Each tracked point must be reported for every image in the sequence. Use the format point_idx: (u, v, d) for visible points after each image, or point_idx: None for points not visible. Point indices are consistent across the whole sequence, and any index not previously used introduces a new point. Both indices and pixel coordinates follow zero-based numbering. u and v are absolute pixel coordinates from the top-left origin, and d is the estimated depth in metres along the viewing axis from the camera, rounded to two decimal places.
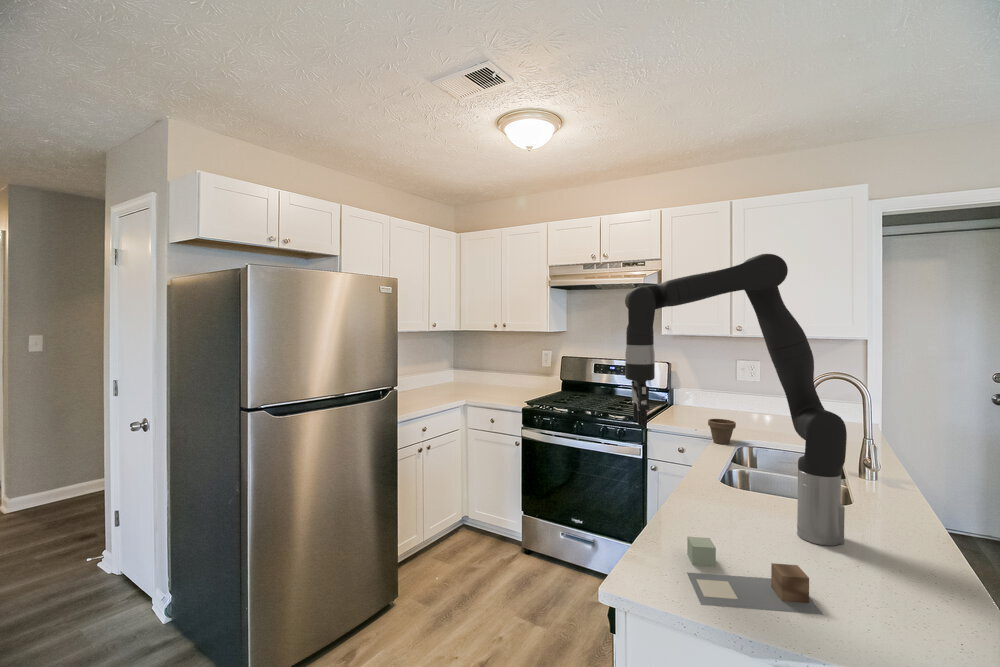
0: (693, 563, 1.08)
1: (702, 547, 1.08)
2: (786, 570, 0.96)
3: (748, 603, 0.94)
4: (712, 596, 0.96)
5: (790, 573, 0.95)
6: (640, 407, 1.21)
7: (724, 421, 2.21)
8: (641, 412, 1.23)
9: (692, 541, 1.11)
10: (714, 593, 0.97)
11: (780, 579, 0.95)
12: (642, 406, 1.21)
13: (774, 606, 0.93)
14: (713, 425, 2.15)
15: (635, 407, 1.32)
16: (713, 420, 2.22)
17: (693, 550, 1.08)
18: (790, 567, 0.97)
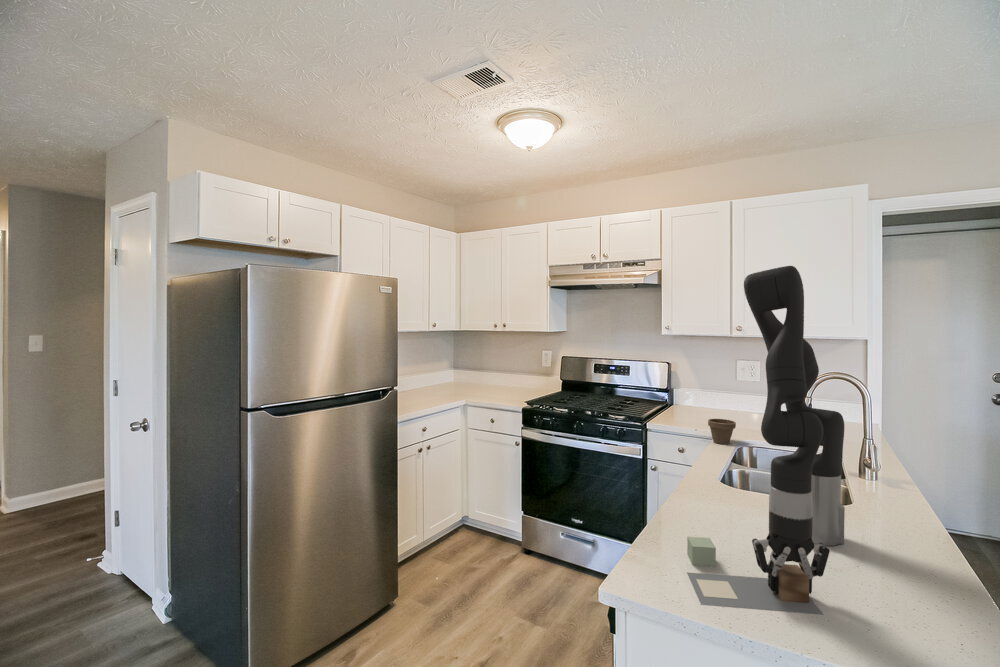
0: (693, 563, 1.08)
1: (702, 547, 1.08)
2: (786, 570, 0.96)
3: (748, 603, 0.94)
4: (712, 596, 0.96)
5: (790, 573, 0.95)
6: None
7: (724, 421, 2.21)
8: None
9: (692, 541, 1.11)
10: (714, 593, 0.97)
11: (780, 579, 0.95)
12: None
13: (774, 606, 0.93)
14: (713, 425, 2.15)
15: None
16: (713, 420, 2.22)
17: (693, 550, 1.08)
18: (790, 567, 0.97)
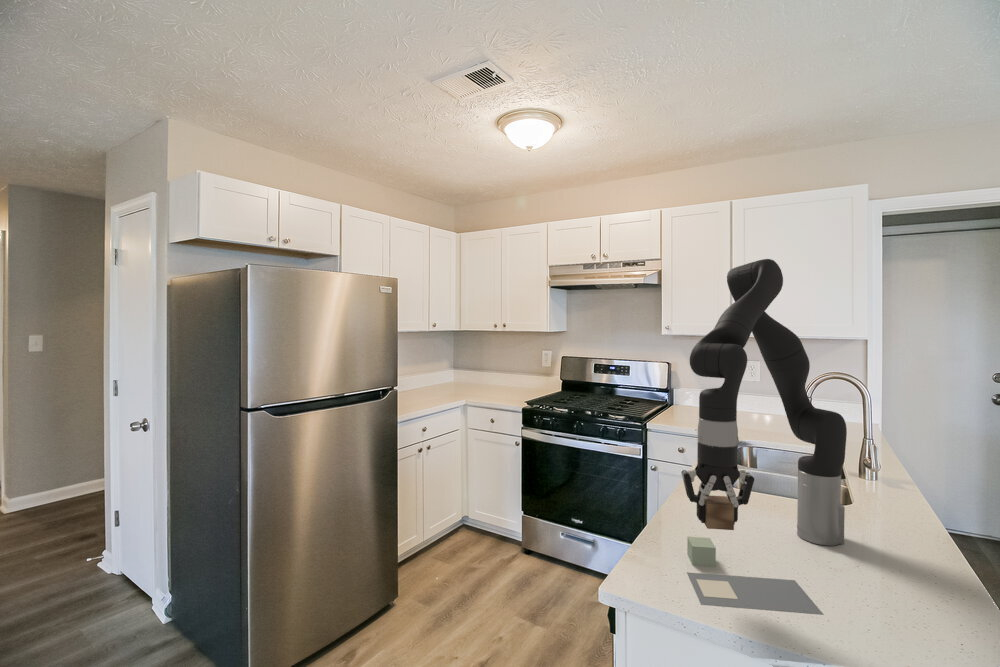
0: (693, 563, 1.08)
1: (702, 547, 1.08)
2: (714, 500, 0.98)
3: (748, 603, 0.94)
4: (712, 596, 0.96)
5: (717, 502, 0.97)
6: None
7: None
8: None
9: (692, 541, 1.11)
10: (714, 593, 0.97)
11: (706, 507, 0.96)
12: None
13: (774, 606, 0.93)
14: None
15: None
16: None
17: (693, 550, 1.08)
18: (718, 498, 0.99)
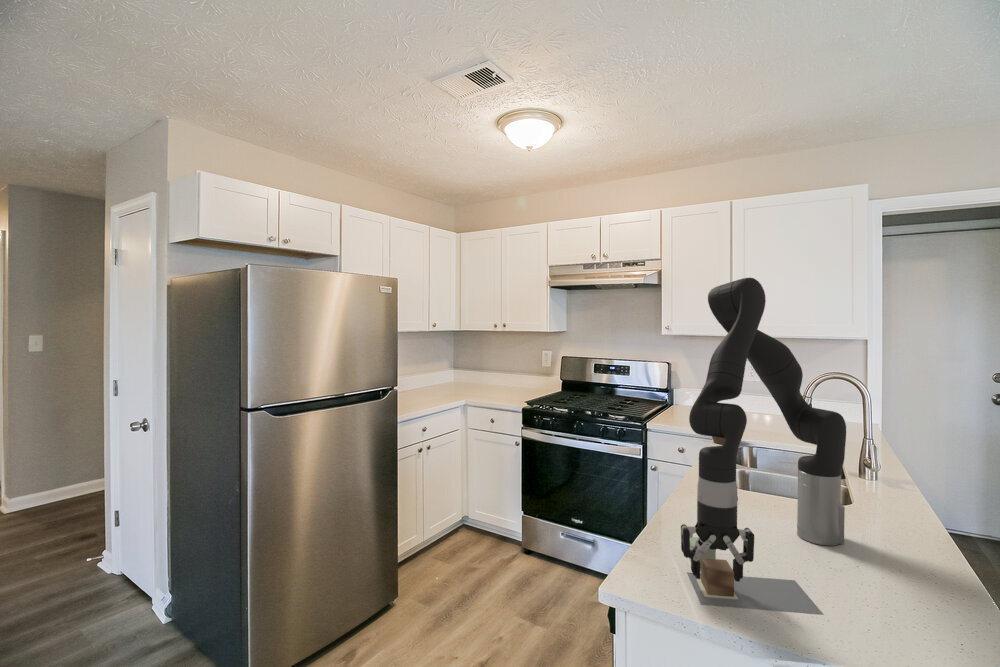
0: None
1: None
2: (714, 565, 0.98)
3: (748, 603, 0.94)
4: (712, 596, 0.96)
5: (717, 567, 0.97)
6: None
7: None
8: None
9: (692, 541, 1.11)
10: None
11: (707, 573, 0.97)
12: None
13: (774, 606, 0.93)
14: None
15: None
16: None
17: None
18: (718, 562, 0.99)
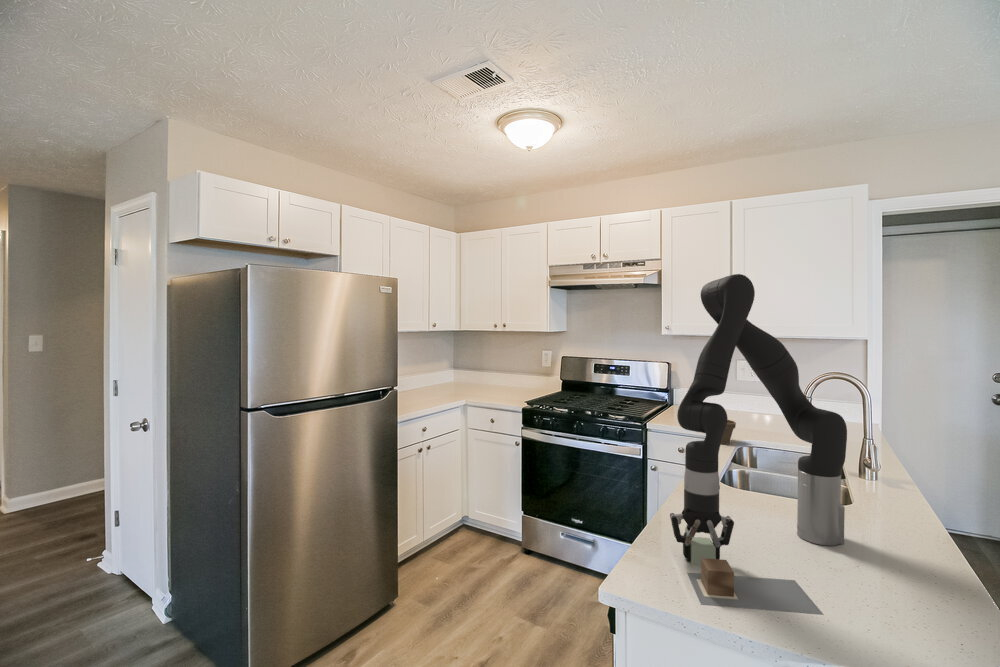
0: (692, 563, 1.08)
1: (702, 547, 1.08)
2: (714, 565, 0.98)
3: (748, 603, 0.94)
4: (712, 596, 0.96)
5: (717, 567, 0.97)
6: None
7: None
8: None
9: (692, 541, 1.11)
10: None
11: (707, 573, 0.97)
12: None
13: (774, 606, 0.93)
14: None
15: None
16: None
17: (693, 550, 1.08)
18: (718, 562, 0.99)
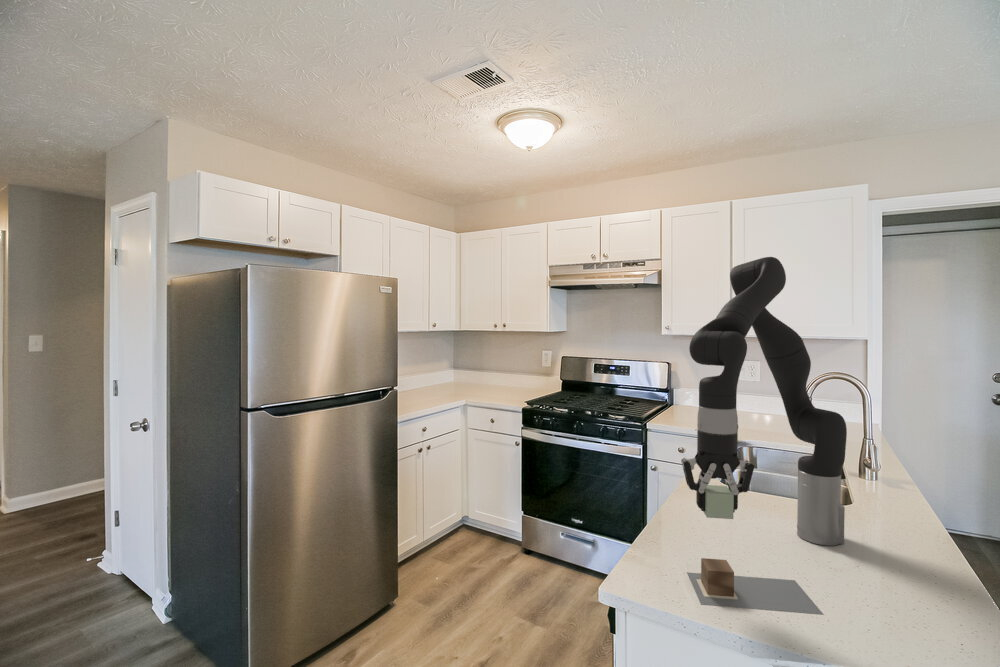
0: (707, 512, 0.96)
1: (718, 493, 0.96)
2: (714, 565, 0.98)
3: (748, 603, 0.94)
4: (712, 596, 0.96)
5: (717, 567, 0.97)
6: None
7: None
8: None
9: (706, 488, 0.98)
10: None
11: (707, 573, 0.97)
12: None
13: (774, 606, 0.93)
14: None
15: None
16: None
17: (708, 497, 0.96)
18: (718, 562, 0.99)
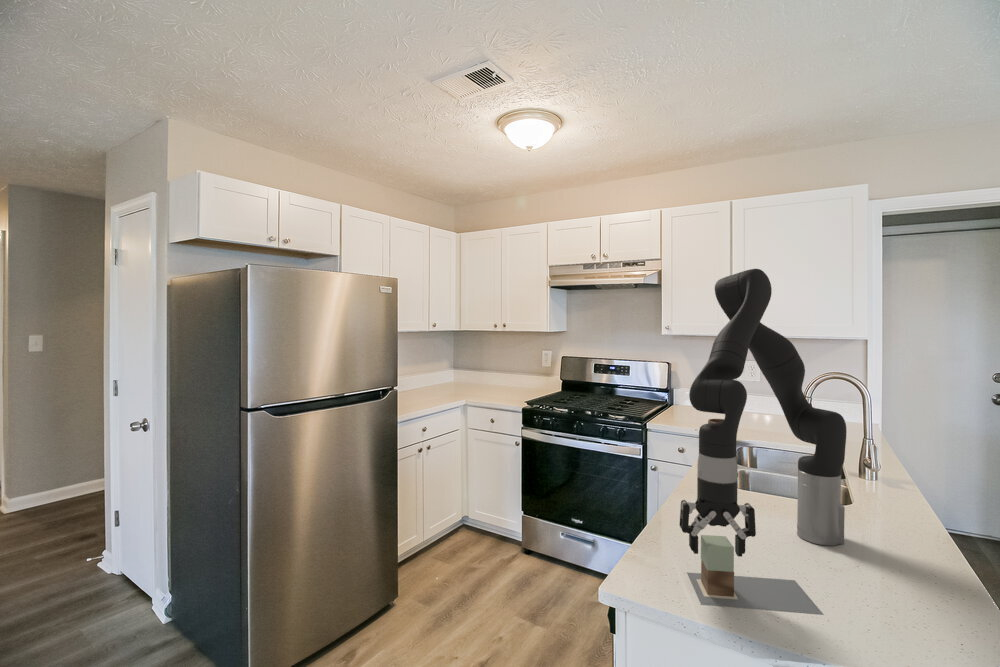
0: (708, 565, 0.96)
1: (718, 546, 0.96)
2: None
3: (748, 603, 0.94)
4: (712, 596, 0.96)
5: None
6: None
7: None
8: None
9: (707, 540, 0.99)
10: None
11: (707, 573, 0.97)
12: None
13: (774, 606, 0.93)
14: None
15: None
16: (713, 420, 2.22)
17: (708, 550, 0.96)
18: None
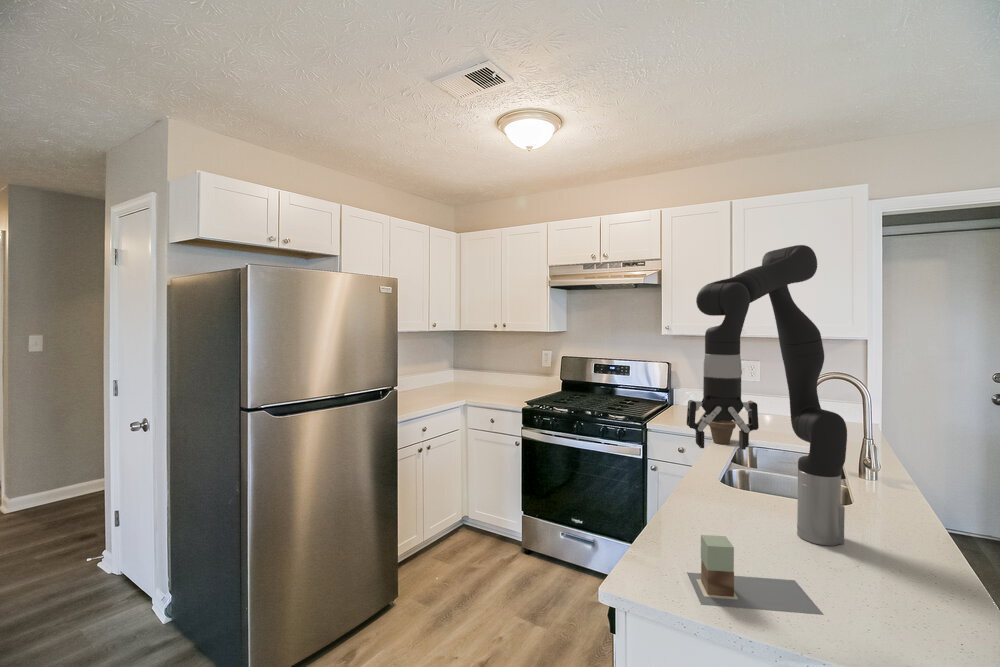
0: (708, 565, 0.96)
1: (718, 546, 0.96)
2: None
3: (748, 603, 0.94)
4: (712, 596, 0.96)
5: None
6: None
7: (724, 421, 2.21)
8: None
9: (707, 540, 0.99)
10: None
11: (707, 573, 0.97)
12: None
13: (774, 606, 0.93)
14: (713, 425, 2.15)
15: None
16: (713, 420, 2.22)
17: (708, 550, 0.96)
18: None
